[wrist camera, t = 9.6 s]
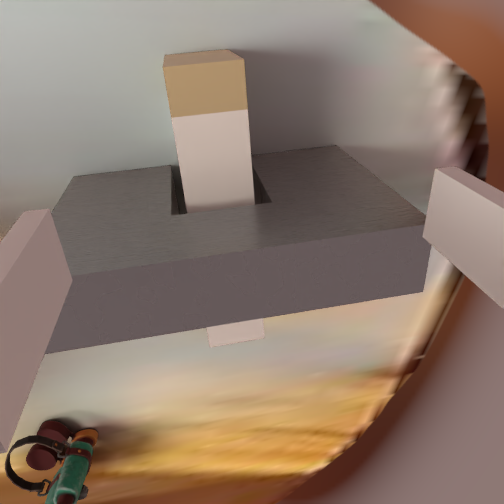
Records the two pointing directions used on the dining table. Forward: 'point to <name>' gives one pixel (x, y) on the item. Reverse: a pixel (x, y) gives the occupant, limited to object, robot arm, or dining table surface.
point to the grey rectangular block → (213, 146)
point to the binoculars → (46, 455)
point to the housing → (231, 248)
